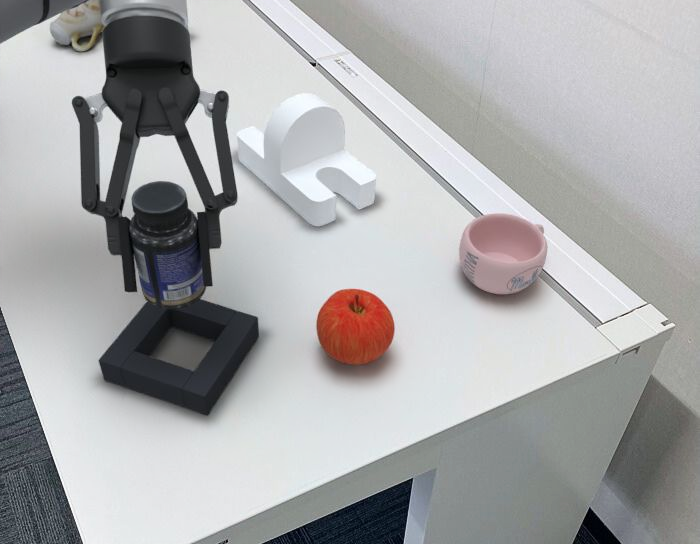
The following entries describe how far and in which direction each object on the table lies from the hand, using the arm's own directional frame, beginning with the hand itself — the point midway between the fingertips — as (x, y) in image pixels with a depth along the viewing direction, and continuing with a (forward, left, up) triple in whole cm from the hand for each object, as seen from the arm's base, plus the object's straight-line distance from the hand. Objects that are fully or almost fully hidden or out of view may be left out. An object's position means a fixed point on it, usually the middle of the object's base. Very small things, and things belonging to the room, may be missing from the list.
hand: (170, 288), depth 69 cm
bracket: (-3, +38, -13) cm, 40 cm away
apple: (+14, +11, -13) cm, 22 cm away
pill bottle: (-2, +3, -4) cm, 5 cm away
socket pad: (-2, +3, -13) cm, 13 cm away
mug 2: (+26, +30, -13) cm, 42 cm away
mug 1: (-52, +59, -13) cm, 79 cm away
